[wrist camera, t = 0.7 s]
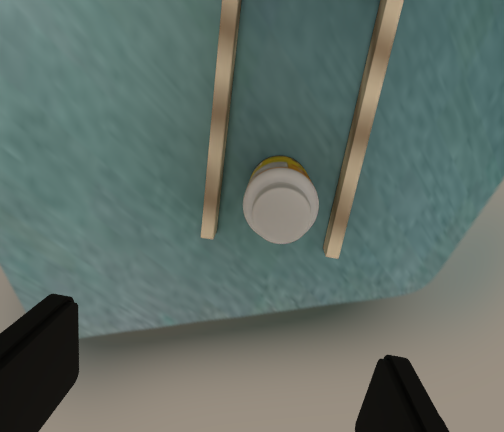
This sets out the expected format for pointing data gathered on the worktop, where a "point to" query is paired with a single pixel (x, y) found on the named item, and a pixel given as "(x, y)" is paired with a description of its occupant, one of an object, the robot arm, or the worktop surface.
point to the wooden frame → (358, 133)
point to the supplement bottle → (280, 200)
